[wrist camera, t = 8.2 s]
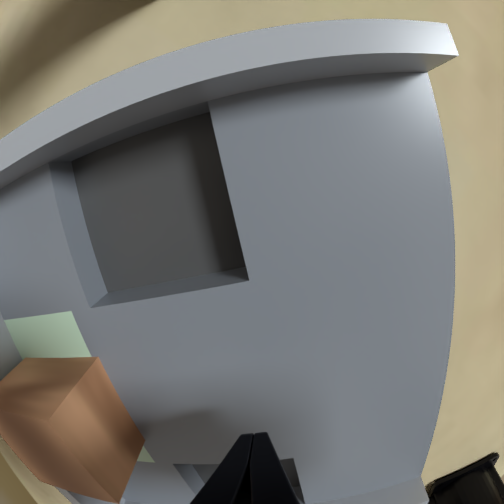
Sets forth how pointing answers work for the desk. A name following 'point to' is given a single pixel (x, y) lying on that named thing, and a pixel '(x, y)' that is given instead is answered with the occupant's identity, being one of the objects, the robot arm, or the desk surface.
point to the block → (70, 425)
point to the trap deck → (247, 254)
